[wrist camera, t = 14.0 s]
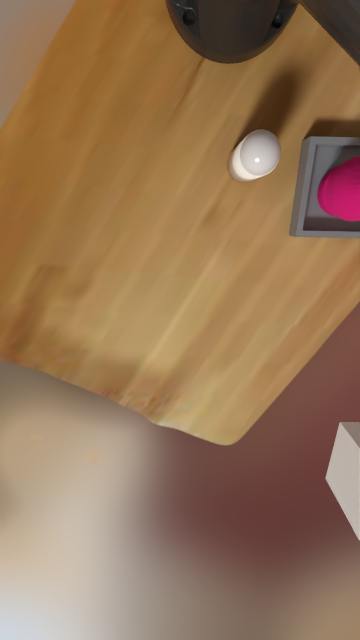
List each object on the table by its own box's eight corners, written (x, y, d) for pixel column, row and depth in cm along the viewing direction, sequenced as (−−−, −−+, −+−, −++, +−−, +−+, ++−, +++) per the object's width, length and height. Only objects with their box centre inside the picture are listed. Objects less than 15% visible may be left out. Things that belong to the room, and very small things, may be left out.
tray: (302, 140, 38) (310, 136, 36) (392, 142, 38) (406, 138, 36) (289, 235, 42) (295, 236, 40) (370, 236, 42) (381, 238, 40)
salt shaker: (228, 144, 38) (245, 123, 29) (262, 145, 38) (290, 124, 29) (225, 182, 40) (240, 174, 30) (258, 182, 40) (284, 175, 30)
